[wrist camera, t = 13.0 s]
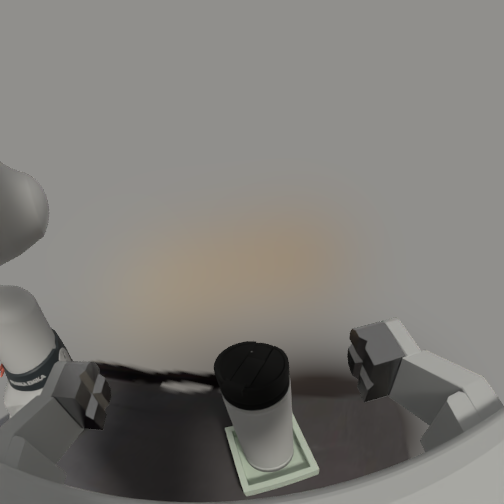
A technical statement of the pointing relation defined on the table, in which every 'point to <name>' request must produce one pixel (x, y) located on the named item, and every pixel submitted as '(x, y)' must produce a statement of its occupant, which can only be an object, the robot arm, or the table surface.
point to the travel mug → (258, 402)
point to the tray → (265, 481)
